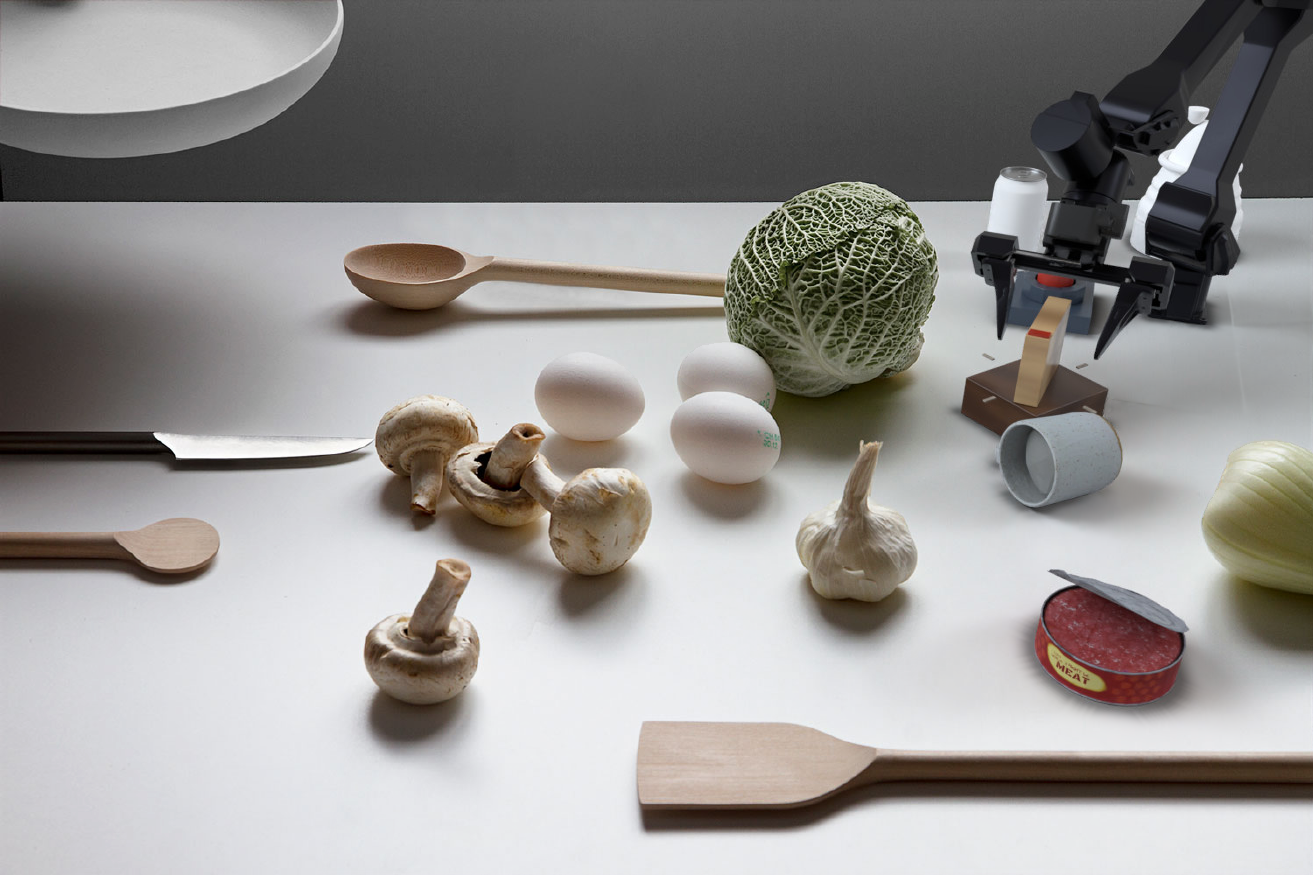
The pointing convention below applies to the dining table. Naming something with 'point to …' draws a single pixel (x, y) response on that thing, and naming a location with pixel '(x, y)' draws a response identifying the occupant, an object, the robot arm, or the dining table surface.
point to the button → (1054, 280)
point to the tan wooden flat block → (1042, 351)
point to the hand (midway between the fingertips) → (1046, 348)
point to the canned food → (1109, 642)
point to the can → (1019, 205)
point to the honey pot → (1173, 168)
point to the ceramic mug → (1058, 457)
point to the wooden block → (997, 410)
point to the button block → (1035, 294)
